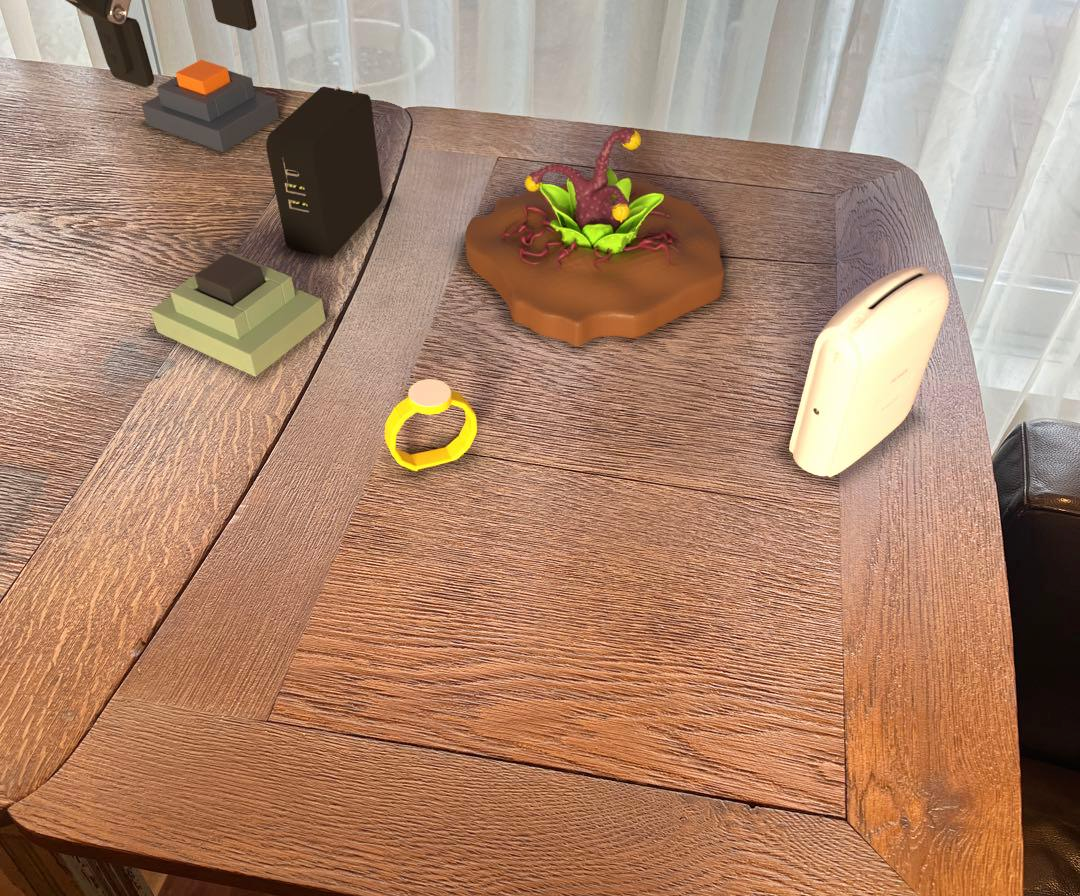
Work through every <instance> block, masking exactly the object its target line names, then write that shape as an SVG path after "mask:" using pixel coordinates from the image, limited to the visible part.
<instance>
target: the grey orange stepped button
mask: <svg viewBox="0 0 1080 896" xmlns="http://www.w3.org/2000/svg"><path fill="white" fill-rule="evenodd" d="M228 73H229V78H230V82H229V83H228V84H226V85H224V86H222V87H220V88H219V89H217V90H215V91H213V92H211V93H209V94H208V95H206V96H204V95H201V94H198V93H195V92H192V91H189V90H186V89H183V88H180V87H179V84H178V80H177V77H176V76H175V77H173V78H172V79H170V80H167V81H166V82H164V83H161V84H159V85H158V86H156V91H157V96H154V97H153V98H151V99H148V100H147V101H145V102H143V103H142V104H141V108H142V109H141V110H142V112H143V115H144V119H145V121H146V125H147V126H150V127H152V128H156V129H158V130H161V131H163V132H166V133H169V134H171V135H175V136H177V137H179V138H183V139H185V140H189V141H191V142H194V143H196V144H200V145H202V146H205V147H208V148H211V149H213V150H216V151H219V152H221V153H225V152H226V151H227V150H229V149H230V148H233V147H234V146H235V145H237V144H239V143H241V142H242V141H244V140H246V139H247V138H249V137H250V136H252V135H254V134H255V133H257V132H259V131H261V130H262V129H264V128H265V127H267V126H269V125H271V124H272V123H274V122H276V121H277V120H279V119H280V113H279V108H278V102H277V98H276V97H274V96H271V95H268V94H266V93H262V92H259V91H256V90H255V86H254V82H253V78H252V77H250V76H246V75H243V74H241V73H238V72H235V71H232V70H228Z"/></svg>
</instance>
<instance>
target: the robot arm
mask: <svg viewBox="0 0 1080 896" xmlns="http://www.w3.org/2000/svg"><path fill="white" fill-rule="evenodd" d="M65 2H67V3H69V4H70V5H72V6H74V7H75V8H77V9H78V10H80V12H81V13H82V15H85V16H88V17H91V18H92V21H93V24H94V27H95V31H96V34H97V36H98V40H99V44H100V47H101V51H102V53H103V56H104V59H105V62H106V65H107V67H108V68H109V71H110V74H111V75H112V77H114V78H115V79H117V80H119V81H123V82H126V83H130V84H133V85H135V86H139V87H141V88H148V87H150V86H151V85H153V84H154V82H155V75H154V72H153V69H152V65H151V62H150V61H151V60H150V57H149V54H148V51H147V47H146V44H145V40H144V36H143V33H142V29H141V26H140V23H139V21H138V20H137V19H136V18H133V17H129V16H128V15H129V11H130V7H131V2H132V0H65ZM210 2H211V5H212V9H213V15H214V18H215V19H216V22H218V23H220V24H222V25H226V26H230V27H233V28H237V29H241V30H245V31H249V32H250V31H253V30H255V28H257V25H258V23H257V19H256V13H255V8H254V4H253V0H211V1H210Z"/></svg>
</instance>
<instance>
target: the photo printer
mask: <svg viewBox="0 0 1080 896" xmlns="http://www.w3.org/2000/svg"><path fill="white" fill-rule="evenodd" d="M949 304H950V290H949V287H948V284H947V283H946V280H945V278H944V277H943V276H942V274H941V273H938V272H934V271H931V270H930V269H929V268H928V267H927V266H925V265H915V266H910V267H906V268H902V269H899V270H896V271H894V272H891V273H889V274H887V275H885V276H883V277H882V278H880V279H877V280H875V281H874V282H873V283H870V284H869V285H867V286H866V288H864V289H863V290H861V291H860V292H859V293H857V294H856V295H855V296H854V297H852V298H851V299H850V300H849V301H848V302H846V303H845V304H844V305H843V306H842V307H840V309H839V310H838V311H837V312H835V314H834V315H833V316H832V317H831V318H830V319H829V320H828V321H827V323H826V324H825V325H824V326H823V328H822V329H821V331H820V333H819V334H818V335H817V337H816V340H815V341H814V346H813V350H812V354H811V358H810V362H809V366H808V369H807V374H806V378H805V382H804V386H803V389H802V394H801V398H800V403H799V406H798V410H797V413H796V414H797V415H796V417H795V422H794V426H793V429H792V433H791V436H790V441H789V447H788V450H789V452H790V453H791V454H792V455H793V456H792V457H793V460H794V462H795V463H796V464H797V465H798V467H799V468H801V470H804V471H805V472H807V473H810V474H812V475H814V476H820V477H828V478H831V477H834V476H836V475H838V474H840V473H841V472H843V471H845V470H846V469H847V468H849V467H851V465H853V464H854V463H855V462H857V461H858V460H859V459H861V458H862V457H863V456H865V454H868V452H869V451H871V450H872V449H874V447H876V446H877V445H878V444H879V443H880V442H882V441H883V440H884V439H885V438H886V437H887V436H888V435H890V434H891V433H892V432H893V431H894V430H895V429H896V428H897V427H899V426H900V425H901V424H902V423H903V422H904V421H905V419H906V418H907V416H908V415H909V413H910V411H911V409H912V407H913V405H914V402H915V400H916V396H917V395H918V392H919V390H920V386H921V383H922V381H923V377H924V375H925V372H926V370H927V367H928V364H929V361H930V359H931V356H932V353H933V350H934V347H935V344H936V341H937V340H938V336H939V334H940V331H941V328H942V325H943V322H944V319H945V317H946V314H947V311H948V309H949Z"/></svg>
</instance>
